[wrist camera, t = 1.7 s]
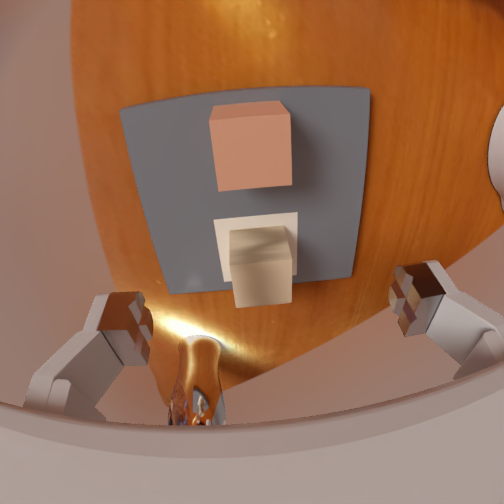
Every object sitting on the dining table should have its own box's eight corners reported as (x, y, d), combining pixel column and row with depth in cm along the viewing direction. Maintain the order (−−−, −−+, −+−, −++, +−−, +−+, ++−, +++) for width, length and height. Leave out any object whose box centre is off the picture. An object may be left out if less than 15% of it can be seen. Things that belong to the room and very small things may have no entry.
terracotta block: (279, 100, 22) (290, 114, 18) (281, 159, 25) (292, 185, 21) (213, 106, 22) (208, 120, 18) (220, 164, 25) (218, 191, 21)
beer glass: (187, 363, 44) (181, 457, 32) (166, 337, 40) (154, 441, 28) (231, 356, 43) (234, 454, 32) (215, 328, 39) (214, 439, 27)
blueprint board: (364, 87, 22) (370, 89, 21) (348, 269, 34) (351, 277, 33) (123, 107, 22) (119, 110, 21) (171, 286, 34) (169, 294, 33)
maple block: (283, 225, 29) (292, 259, 25) (284, 266, 32) (291, 302, 28) (229, 230, 29) (229, 265, 25) (235, 271, 32) (236, 307, 28)
